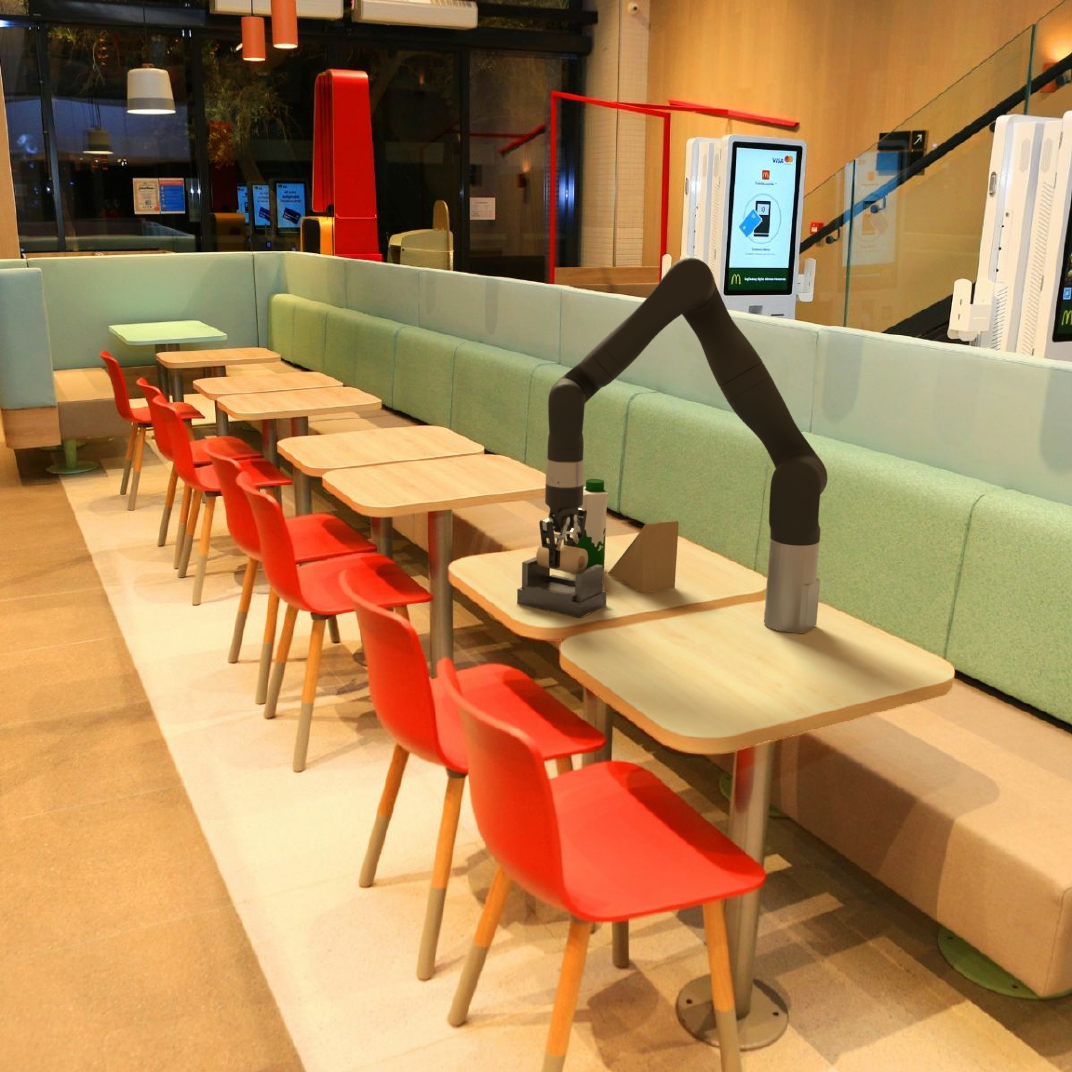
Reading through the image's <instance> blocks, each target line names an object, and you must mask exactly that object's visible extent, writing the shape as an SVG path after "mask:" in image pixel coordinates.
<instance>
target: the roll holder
mask: <svg viewBox="0 0 1072 1072" xmlns="http://www.w3.org/2000/svg"><path fill="white" fill-rule="evenodd" d="M550 572H551V569H550V568H546V567H541V566H539V565H538V563H537V559H536V556H535V557H533V558H530V559H527V560H524V561H522V563H521V587H519V588H517V590H516V591H517V595H516V596H517V597H516V602H517V604H519V605H524V606H528V607H532V608H536V609H540V610H545V611H548V612H552V613H557V614H561V615H564V616H570V617H574V618H578V619H580V618H582V617H584V616H587V615H588V614H591V613H592V612H593V613H594V612H595V611H597V610H599V609H602V608H604V607H605V606H607V594H608V593H607V590H603V588H604V587H603V583H604V582H603V581H604V580H603V578H604V572H603V566H602V565H598V564H597V565H595V566H592V567H590V568H588V569H585V570H583V571H581V572H578V573H576V574H575V579H574V578H571V577H570V578H569V577H566V576H561V575H557V574H551V573H550Z"/></svg>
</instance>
